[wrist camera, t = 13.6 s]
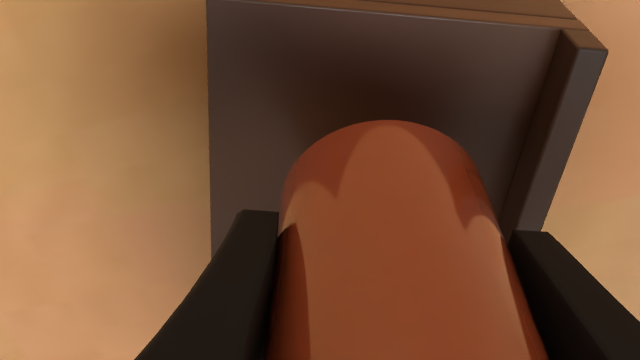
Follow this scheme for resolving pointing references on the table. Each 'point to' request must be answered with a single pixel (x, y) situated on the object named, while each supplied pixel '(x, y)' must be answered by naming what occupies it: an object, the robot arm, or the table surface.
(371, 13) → the shelf
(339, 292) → the pepper shaker
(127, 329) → the table surface
